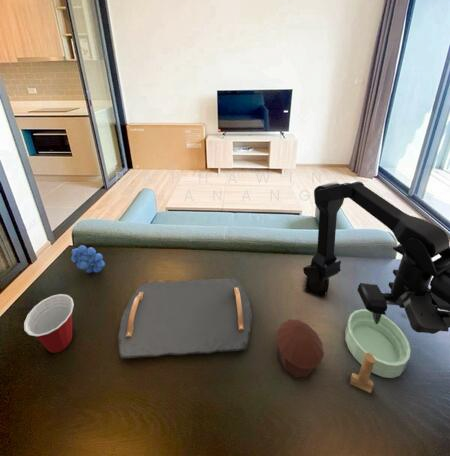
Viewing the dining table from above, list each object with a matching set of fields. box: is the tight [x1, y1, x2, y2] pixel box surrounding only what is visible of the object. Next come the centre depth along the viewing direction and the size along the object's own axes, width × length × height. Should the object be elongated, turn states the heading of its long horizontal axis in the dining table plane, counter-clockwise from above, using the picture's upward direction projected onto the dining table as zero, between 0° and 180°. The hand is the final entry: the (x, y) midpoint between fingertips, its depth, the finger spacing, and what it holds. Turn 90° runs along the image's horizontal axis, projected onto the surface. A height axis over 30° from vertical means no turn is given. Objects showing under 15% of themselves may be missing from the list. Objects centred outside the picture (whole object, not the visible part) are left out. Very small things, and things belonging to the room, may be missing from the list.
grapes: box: [70, 245, 106, 274], centre depth 88 cm, size 12×7×12 cm, turn 88°
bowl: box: [344, 308, 411, 379], centre depth 66 cm, size 14×14×6 cm
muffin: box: [276, 318, 325, 379], centre depth 63 cm, size 12×11×10 cm
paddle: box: [349, 353, 375, 394], centre depth 57 cm, size 4×2×11 cm, turn 67°
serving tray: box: [117, 277, 253, 359], centre depth 73 cm, size 39×23×6 cm, turn 94°
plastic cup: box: [23, 293, 75, 354], centre depth 66 cm, size 11×11×12 cm
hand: (395, 324), depth 60 cm, fingers open, 9 cm apart
